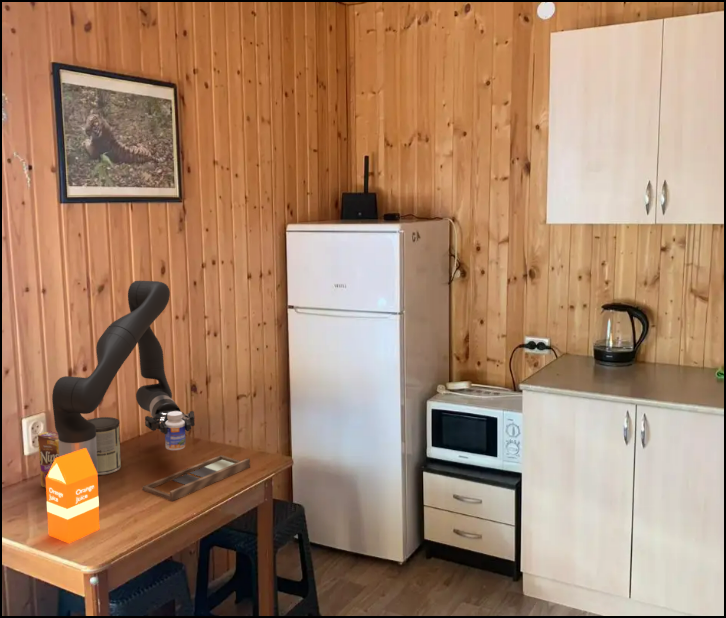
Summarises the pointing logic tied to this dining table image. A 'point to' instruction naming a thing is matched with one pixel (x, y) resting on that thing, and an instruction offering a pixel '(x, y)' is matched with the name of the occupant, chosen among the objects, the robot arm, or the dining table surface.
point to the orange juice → (72, 497)
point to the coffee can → (107, 444)
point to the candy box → (47, 453)
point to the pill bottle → (175, 431)
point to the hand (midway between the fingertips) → (177, 429)
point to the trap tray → (207, 473)
